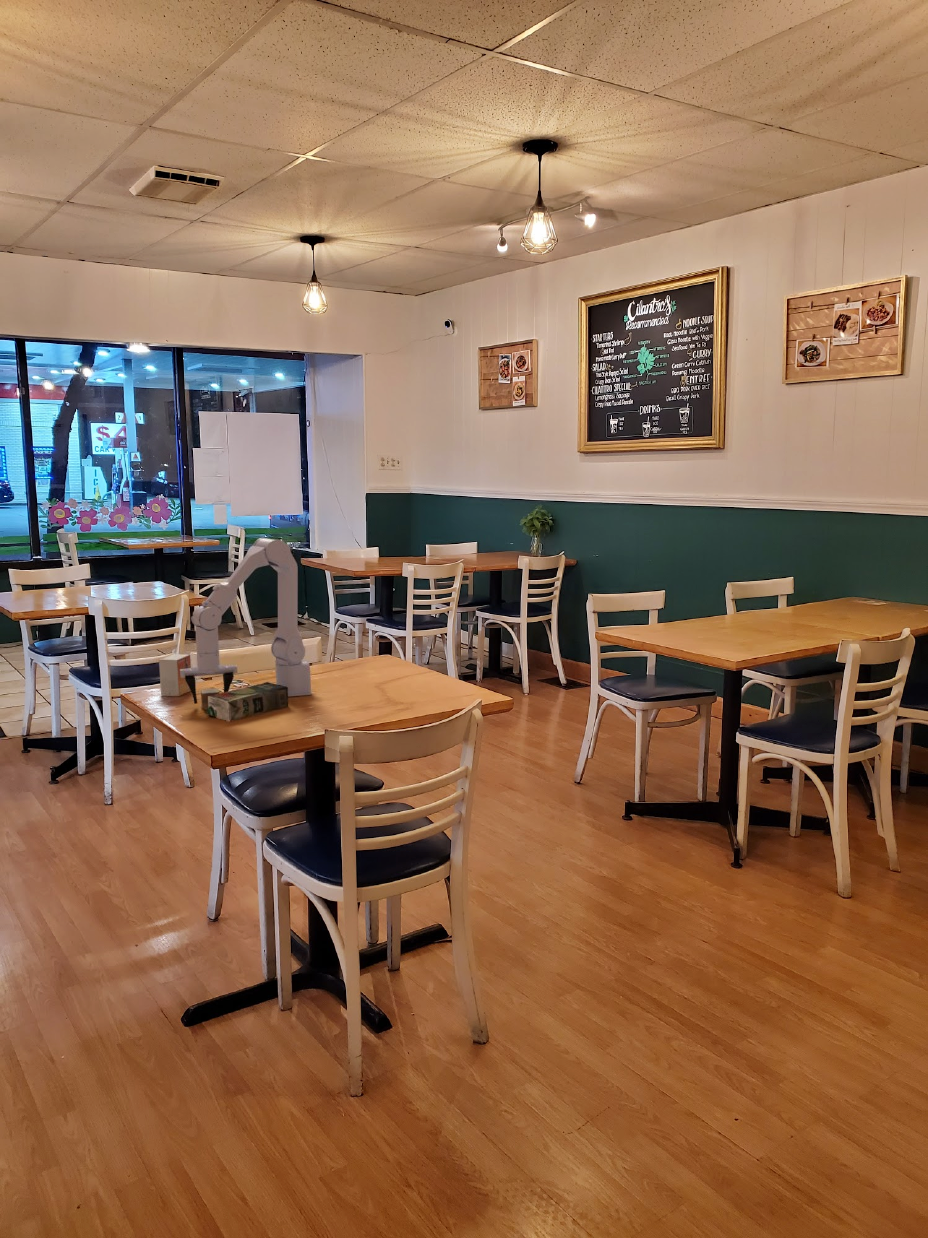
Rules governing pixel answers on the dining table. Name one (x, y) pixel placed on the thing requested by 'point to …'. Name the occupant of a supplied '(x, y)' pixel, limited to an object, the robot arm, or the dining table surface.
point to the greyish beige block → (205, 694)
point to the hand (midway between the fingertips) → (210, 701)
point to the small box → (173, 674)
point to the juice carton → (247, 701)
